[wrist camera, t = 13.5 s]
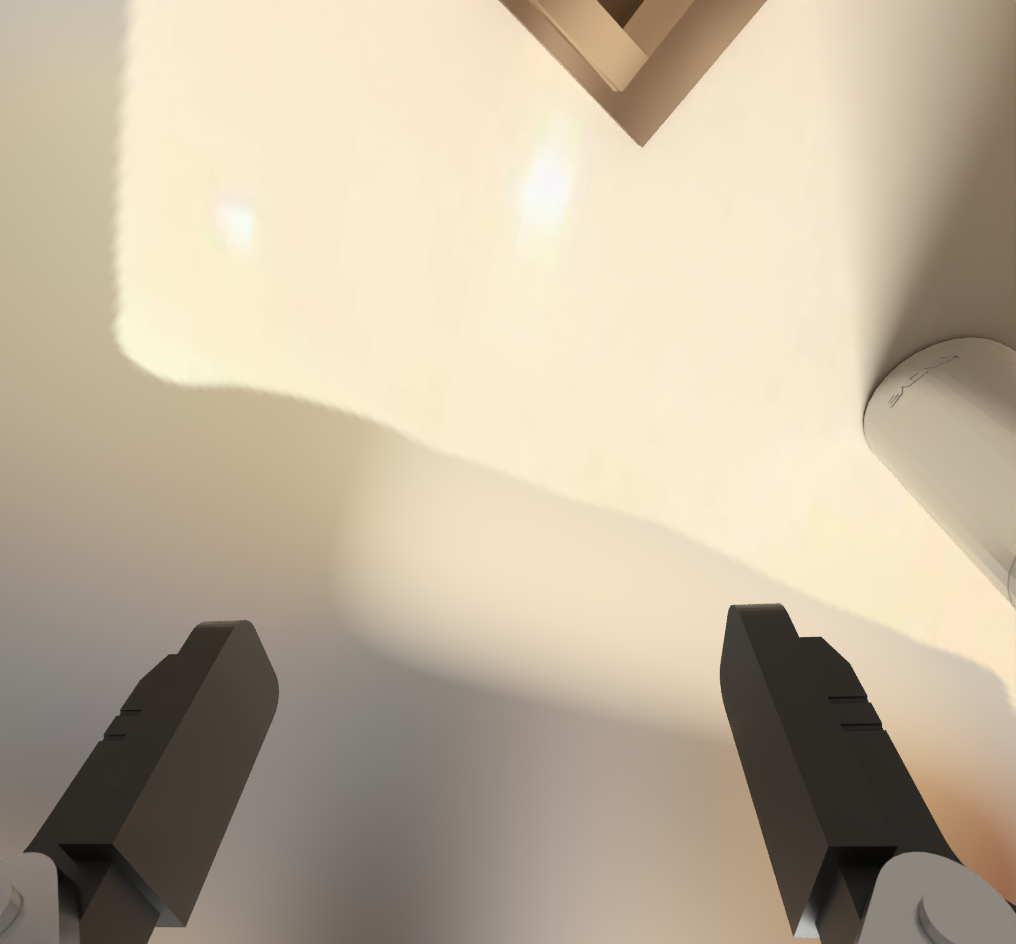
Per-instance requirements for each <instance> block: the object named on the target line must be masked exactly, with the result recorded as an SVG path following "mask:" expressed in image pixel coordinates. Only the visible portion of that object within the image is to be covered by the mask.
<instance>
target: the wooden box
mask: <svg viewBox="0 0 1016 944" xmlns="http://www.w3.org/2000/svg"><path fill="white" fill-rule="evenodd" d="M499 1H500V2H501V3H502V4H503V5H504V6H505V7H506V8H507V9H508V10H509V11H510V12H511V13H512V14H513V15H514V16H515V17H516V18H517V19H518V20H519V21H520V23H521V24H522V25H523V26H524V27H525V28H526V29H527V30H528V31H529V32H530V33H531V34H532V35H533V36H534V37H535V38H536V39H537V40H538V41H539V42H540V43H541V44H542V45H543V46H544V47H545V48H546V50H547V51H548V52H549V53H550V54H551V55H552V56H553V57H554V58H555V59H556V60H557V61H558V62H559V63H560V64H561V65H562V66H563V67H564V68H565V69H566V70H567V71H568V72H569V73H570V74H571V75H572V77H573V78H574V79H575V80H576V81H577V82H578V83H579V84H580V85H581V86H582V87H583V88H584V89H585V90H586V91H587V92H588V93H589V94H590V95H591V96H592V97H593V98H594V99H595V100H596V101H597V102H598V104H599V105H600V106H601V107H602V108H603V109H604V110H605V111H606V112H607V113H608V114H609V115H610V116H611V117H612V118H613V119H614V120H615V121H616V122H617V123H618V124H619V125H620V126H621V127H622V128H623V129H624V131H625V132H626V133H627V134H628V135H629V136H630V137H631V138H632V139H633V140H634V141H635V142H636V143H637V144H638V145H639V146H641V147H643V146H644V145H645V144H646V143H647V142H648V140H649V139H650V138H651V137H652V136H653V135H654V133H655V132H656V131H657V130H658V129H659V127H660V126H661V125H662V124H663V123H664V122H665V120H666V119H667V118H668V117H669V116H670V114H671V113H672V112H673V111H674V110H675V109H676V107H677V106H678V105H679V104H680V103H681V101H682V100H683V99H684V98H685V97H686V96H687V94H688V93H689V92H690V91H691V90H692V88H693V87H694V86H695V85H696V84H697V82H698V81H699V80H700V79H701V78H702V77H703V75H704V74H705V73H706V72H707V71H708V69H709V68H710V67H711V66H712V65H713V64H714V62H715V61H716V60H717V59H718V58H719V56H720V55H721V54H722V53H723V52H724V51H725V49H726V48H727V47H728V46H729V45H730V43H731V42H732V41H733V40H734V39H735V38H736V36H737V35H738V34H739V33H740V32H741V30H742V29H743V28H744V27H745V26H746V25H747V23H748V22H749V21H750V20H751V19H752V17H753V16H754V15H755V14H756V13H757V12H758V10H759V9H760V8H761V7H762V6H763V4H764V3H765V2H766V1H767V0H499Z"/></svg>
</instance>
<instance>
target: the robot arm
mask: <svg viewBox="0 0 1016 944" xmlns="http://www.w3.org/2000/svg"><path fill="white" fill-rule="evenodd" d="M864 433H865V438H866V442H867V444H868V445H869V447H870V449H871V451H872V452H873V453H874V454H875V455H876V456H877V458H878V459H879V460H880V461H881V462H882V463H883V464H884V465H885V466H886V467H887V469H888V470H889V471H890V472H891V473H892V474H893V475H894V476H895V477H896V478H897V479H898V481H899V482H900V483H901V484H902V485H903V486H904V488H905V489H906V490H907V491H908V492H909V493H910V494H911V495H912V496H913V498H914V499H915V500H916V501H917V502H918V503H919V504H920V505H921V506H922V507H923V508H924V510H925V511H926V512H927V513H928V514H929V515H930V516H931V517H932V518H933V519H934V521H935V522H936V523H937V524H938V525H939V526H940V527H941V528H942V529H943V530H944V531H945V533H946V534H947V535H948V536H949V537H950V538H951V539H952V540H953V541H954V542H955V544H956V545H957V546H958V547H959V548H960V549H961V550H962V551H963V552H964V553H965V555H966V556H967V557H968V558H969V559H970V560H971V561H972V562H973V563H974V564H975V565H976V567H977V568H978V569H979V570H980V571H981V572H982V573H983V574H984V575H985V576H986V578H987V579H988V580H989V581H990V582H991V583H992V584H993V585H994V586H995V587H996V589H997V590H998V591H999V592H1000V593H1001V594H1002V595H1003V596H1004V597H1005V598H1006V599H1007V601H1008V602H1009V603H1010V604H1011V605H1012V606H1013V607H1014V608H1015V609H1016V351H1014V350H1012V349H1010V348H1009V347H1007V346H1005V345H1003V344H1002V343H999V342H996V341H993V340H990V339H986V338H974V337H967V338H959V339H951V340H948V341H944V342H941V343H937V344H934V345H932V346H930V347H928V348H925V349H923V350H921V351H919V352H917V353H915V354H914V355H912V356H911V357H909V358H908V359H906V360H905V361H903V362H902V363H900V364H899V365H898V366H897V367H896V368H895V369H894V370H893V371H891V372H890V373H889V374H888V375H887V376H886V377H885V379H884V380H883V381H882V382H881V384H880V385H879V386H878V387H877V389H876V390H875V392H874V394H873V396H872V398H871V399H870V401H869V403H868V406H867V410H866V413H865V416H864ZM720 685H721V693H722V698H723V703H724V706H725V710H726V714H727V717H728V720H729V724H730V727H731V730H732V733H733V737H734V740H735V743H736V747H737V750H738V754H739V757H740V760H741V764H742V767H743V770H744V773H745V777H746V780H747V784H748V787H749V790H750V794H751V797H752V800H753V803H754V807H755V810H756V813H757V817H758V820H759V824H760V827H761V830H762V834H763V837H764V840H765V844H766V847H767V850H768V854H769V857H770V860H771V863H772V867H773V870H774V874H775V877H776V880H777V884H778V887H779V890H780V894H781V897H782V900H783V904H784V907H785V910H786V914H787V917H788V920H789V923H790V927H791V930H792V933H793V937H806V938H807V937H809V938H820V940H821V943H822V944H1016V906H1015V905H1013V904H1011V903H1010V902H1008V901H1007V900H1005V899H1004V898H1003V897H1002V896H1001V895H1000V894H999V893H998V892H997V891H996V890H995V889H994V888H993V887H991V885H990V884H989V883H987V882H986V881H985V880H984V879H982V878H981V877H979V876H978V875H977V874H976V873H974V872H973V871H971V870H969V869H968V868H966V867H965V866H964V865H963V864H962V863H961V862H960V860H959V859H958V858H957V856H956V855H955V854H954V852H953V851H952V850H951V848H950V847H949V845H948V844H947V842H946V840H945V839H944V837H943V835H942V834H941V832H940V830H939V828H938V826H937V824H936V822H935V820H934V819H933V817H932V815H931V813H930V811H929V809H928V807H927V806H926V804H925V802H924V800H923V798H922V796H921V794H920V793H919V791H918V789H917V787H916V785H915V784H914V781H913V780H912V778H911V776H910V774H909V772H908V770H907V769H906V767H905V765H904V763H903V761H902V759H901V758H900V756H899V754H898V752H897V750H896V748H895V746H894V744H893V743H892V741H891V739H890V737H889V735H888V733H887V732H886V730H883V728H882V722H881V720H880V719H879V717H878V715H877V713H876V711H875V709H874V707H873V705H872V704H871V703H869V702H868V700H867V694H866V693H865V691H864V689H863V687H862V685H861V683H860V681H859V680H858V678H857V676H856V674H855V672H854V670H853V668H852V667H851V665H850V663H849V662H847V661H846V660H845V659H844V658H843V657H842V656H841V655H840V654H839V653H838V652H837V651H836V650H835V649H833V648H832V646H830V645H829V644H828V643H827V642H826V641H825V640H824V639H823V638H822V637H799V636H798V634H797V632H796V630H795V627H794V625H793V623H792V621H791V619H790V617H789V615H788V613H787V611H786V609H785V608H784V606H783V605H781V604H779V603H777V604H752V605H751V604H748V605H731V606H730V608H729V611H728V616H727V623H726V630H725V637H724V643H723V650H722V657H721V664H720ZM278 697H279V686H278V680H277V677H276V674H275V672H274V670H273V668H272V666H271V663H270V661H269V659H268V657H267V654H266V652H265V650H264V648H263V646H262V644H261V641H260V639H259V637H258V635H257V632H256V630H255V628H254V626H253V625H252V623H251V622H249V621H247V620H239V621H212V622H211V621H210V622H202V623H200V624H198V625H197V626H196V627H195V628H194V629H193V631H192V632H191V634H190V635H189V637H188V638H187V640H186V642H185V643H184V645H183V646H182V648H181V650H180V651H179V653H178V654H169V655H168V656H167V657H165V658H164V659H163V660H162V661H161V662H160V663H159V664H158V665H157V666H155V668H153V669H152V670H151V671H150V672H149V673H148V674H147V675H145V676H144V677H143V678H142V679H141V680H140V681H139V683H138V684H137V686H136V687H135V689H134V690H133V692H132V693H131V695H130V696H129V698H128V699H127V701H126V702H125V704H124V705H123V707H122V708H121V710H120V711H121V713H120V715H119V716H116V717H115V719H114V720H113V722H112V723H111V724H110V726H109V727H108V729H107V730H106V732H105V733H104V739H103V741H99V742H98V744H97V745H96V747H95V748H94V750H93V751H92V753H91V754H90V756H89V758H88V759H87V760H86V762H85V763H84V765H83V766H82V768H81V769H80V771H79V772H78V774H77V775H76V777H75V778H74V780H73V781H72V783H71V784H70V786H69V787H68V789H67V790H66V792H65V793H64V795H63V796H62V798H61V799H60V801H59V802H58V804H57V805H56V806H55V808H54V810H53V811H52V813H51V814H50V816H49V817H48V818H47V820H46V821H45V823H44V824H43V826H42V827H41V829H40V830H39V832H38V833H37V835H36V836H35V838H34V839H33V841H32V842H31V843H30V844H29V846H28V847H27V848H26V849H25V851H24V852H23V853H22V854H17V855H14V856H11V857H9V858H5V859H3V860H1V861H0V944H147V943H148V941H149V938H150V936H151V934H152V932H153V929H154V927H186V925H187V922H188V920H189V918H190V915H191V913H192V910H193V908H194V906H195V903H196V901H197V898H198V896H199V894H200V891H201V889H202V887H203V884H204V882H205V879H206V877H207V875H208V872H209V870H210V867H211V865H212V863H213V860H214V858H215V856H216V853H217V851H218V848H219V846H220V844H221V841H222V839H223V837H224V834H225V832H226V829H227V827H228V825H229V822H230V820H231V817H232V815H233V813H234V810H235V808H236V805H237V803H238V801H239V798H240V796H241V794H242V791H243V789H244V786H245V784H246V781H247V779H248V777H249V775H250V772H251V770H252V767H253V765H254V763H255V760H256V758H257V755H258V753H259V751H260V748H261V746H262V743H263V741H264V739H265V736H266V734H267V732H268V729H269V727H270V724H271V722H272V720H273V717H274V715H275V712H276V708H277V704H278Z"/></svg>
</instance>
